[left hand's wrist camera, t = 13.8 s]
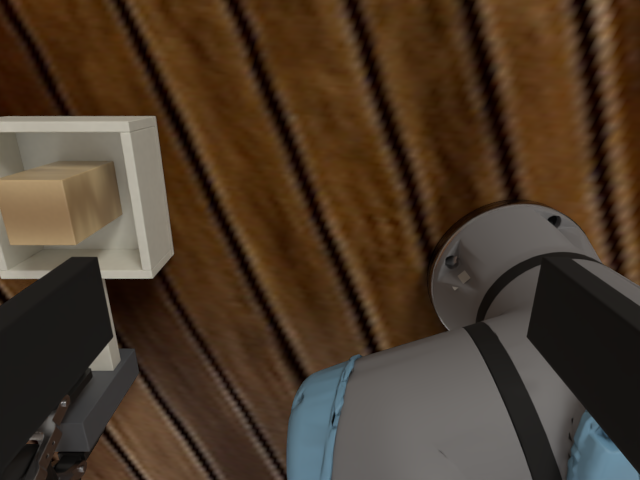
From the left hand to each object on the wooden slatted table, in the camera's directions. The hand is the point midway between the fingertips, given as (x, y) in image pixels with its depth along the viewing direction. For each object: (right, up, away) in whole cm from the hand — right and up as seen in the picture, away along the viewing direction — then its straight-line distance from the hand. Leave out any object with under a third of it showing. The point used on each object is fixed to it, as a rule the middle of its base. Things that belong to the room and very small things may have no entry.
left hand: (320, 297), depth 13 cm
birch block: (-21, +6, +26) cm, 33 cm away
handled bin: (-21, +1, +28) cm, 35 cm away
